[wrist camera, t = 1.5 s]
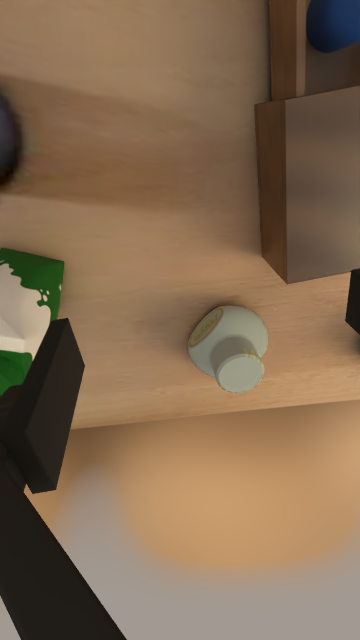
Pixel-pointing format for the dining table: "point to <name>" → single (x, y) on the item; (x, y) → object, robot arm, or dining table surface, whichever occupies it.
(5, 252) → the milk carton
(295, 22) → the drawer
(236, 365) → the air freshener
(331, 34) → the blue bottle
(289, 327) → the dining table surface
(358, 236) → the cabinet
